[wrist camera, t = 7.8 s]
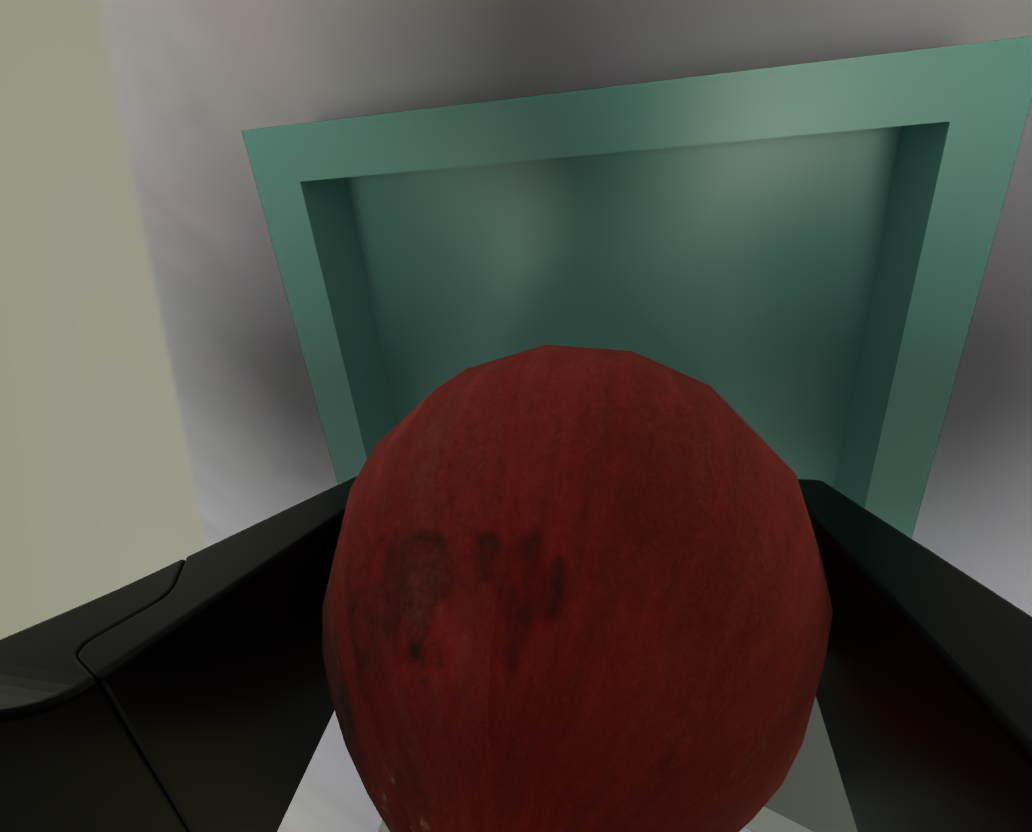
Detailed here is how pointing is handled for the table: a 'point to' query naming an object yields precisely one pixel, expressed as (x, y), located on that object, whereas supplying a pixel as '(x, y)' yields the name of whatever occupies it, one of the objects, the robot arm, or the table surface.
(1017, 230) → the table surface
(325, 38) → the table surface
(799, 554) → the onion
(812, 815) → the ring
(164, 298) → the table surface
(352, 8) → the table surface
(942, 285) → the tray
